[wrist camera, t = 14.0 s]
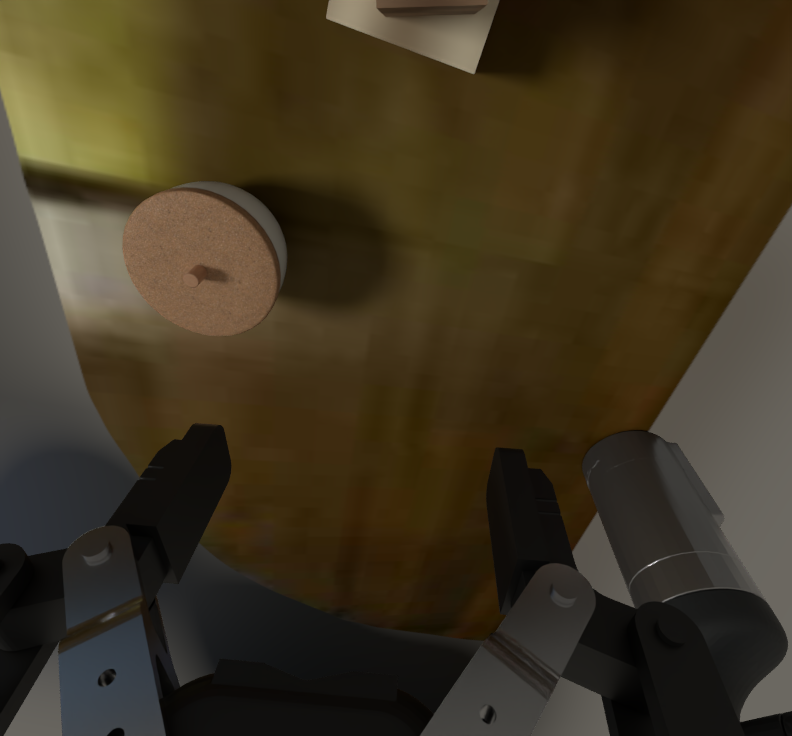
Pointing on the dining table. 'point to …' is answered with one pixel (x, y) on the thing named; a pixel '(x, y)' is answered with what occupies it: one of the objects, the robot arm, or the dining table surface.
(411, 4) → the walnut block
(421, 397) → the dining table surface
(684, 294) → the dining table surface
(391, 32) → the birch block
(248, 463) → the dining table surface
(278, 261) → the lidded jar
